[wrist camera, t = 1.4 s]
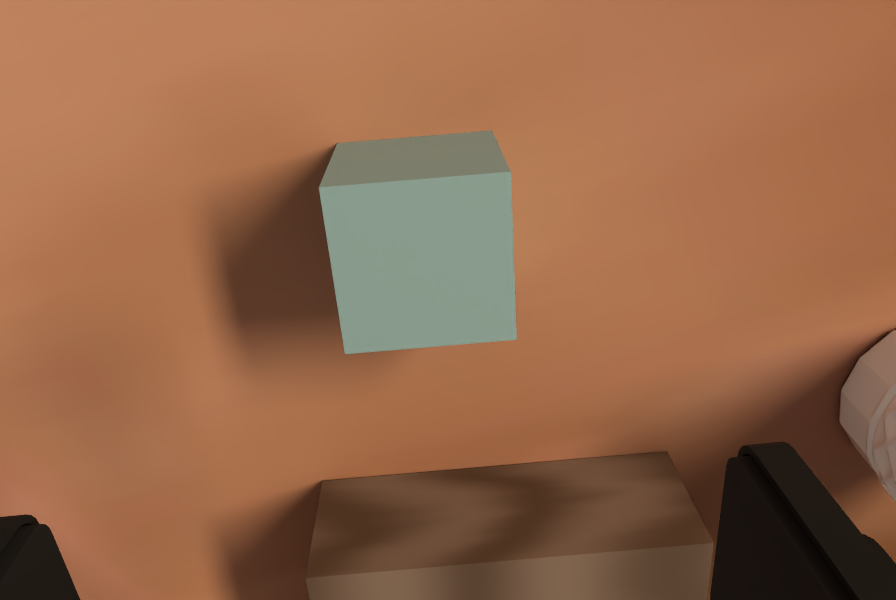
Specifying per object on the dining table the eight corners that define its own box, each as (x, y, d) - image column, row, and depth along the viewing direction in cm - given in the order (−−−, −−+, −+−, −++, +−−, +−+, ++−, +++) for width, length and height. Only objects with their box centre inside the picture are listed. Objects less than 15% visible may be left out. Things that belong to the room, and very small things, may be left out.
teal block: (491, 129, 23) (510, 171, 18) (498, 271, 25) (516, 339, 21) (337, 142, 23) (318, 187, 18) (357, 283, 25) (344, 354, 21)
